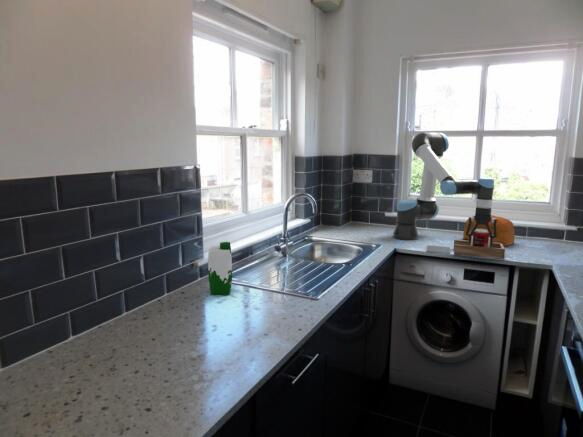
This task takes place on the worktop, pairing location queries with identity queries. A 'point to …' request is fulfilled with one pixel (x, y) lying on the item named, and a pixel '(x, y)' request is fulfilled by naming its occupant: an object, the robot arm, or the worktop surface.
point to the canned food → (480, 238)
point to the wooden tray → (479, 249)
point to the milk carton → (220, 269)
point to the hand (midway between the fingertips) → (479, 249)
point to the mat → (438, 249)
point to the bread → (502, 228)
